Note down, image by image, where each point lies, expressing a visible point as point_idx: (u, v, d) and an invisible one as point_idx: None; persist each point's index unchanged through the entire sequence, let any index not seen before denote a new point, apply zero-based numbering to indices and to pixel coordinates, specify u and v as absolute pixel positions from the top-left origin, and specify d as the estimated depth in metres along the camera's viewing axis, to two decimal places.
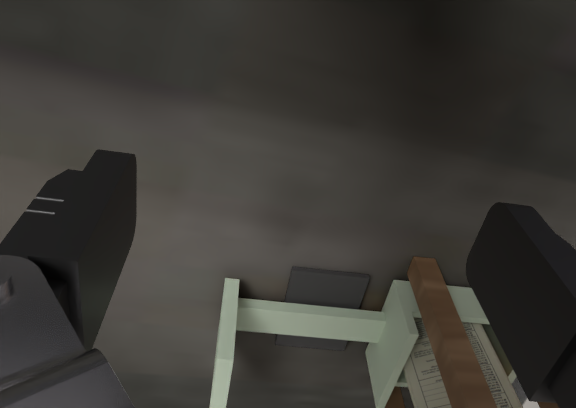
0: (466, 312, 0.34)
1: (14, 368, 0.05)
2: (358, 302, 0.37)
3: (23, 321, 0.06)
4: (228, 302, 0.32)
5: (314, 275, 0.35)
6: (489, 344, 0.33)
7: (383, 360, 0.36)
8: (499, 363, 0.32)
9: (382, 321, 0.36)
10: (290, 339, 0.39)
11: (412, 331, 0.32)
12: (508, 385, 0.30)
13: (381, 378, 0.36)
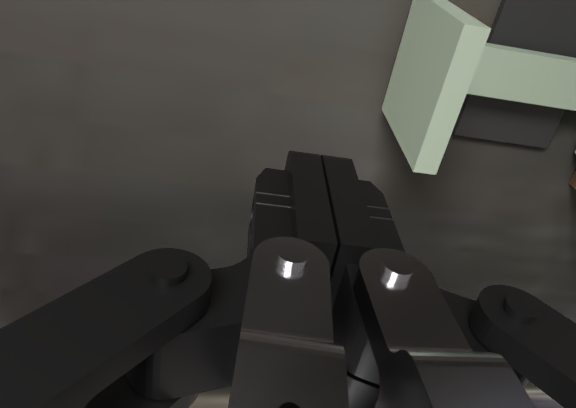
0: None
1: (280, 327, 0.06)
2: None
3: (301, 297, 0.07)
4: (437, 0, 0.21)
5: None
6: None
7: None
8: None
9: None
10: (478, 124, 0.27)
11: None
12: None
13: None
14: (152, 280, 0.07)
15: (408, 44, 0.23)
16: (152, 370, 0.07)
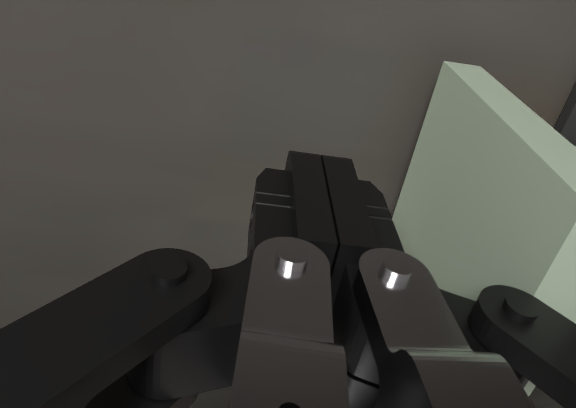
0: None
1: (280, 327, 0.06)
2: None
3: (301, 297, 0.07)
4: (489, 93, 0.11)
5: None
6: None
7: None
8: None
9: None
10: None
11: None
12: None
13: None
14: (152, 280, 0.07)
15: (430, 160, 0.13)
16: (152, 370, 0.07)
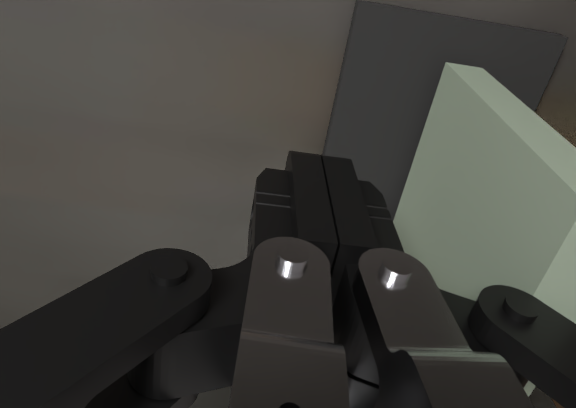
0: None
1: (281, 327, 0.06)
2: None
3: (301, 297, 0.07)
4: (491, 94, 0.11)
5: (417, 24, 0.13)
6: None
7: None
8: None
9: None
10: None
11: None
12: None
13: None
14: (152, 280, 0.07)
15: (432, 161, 0.13)
16: (152, 370, 0.07)
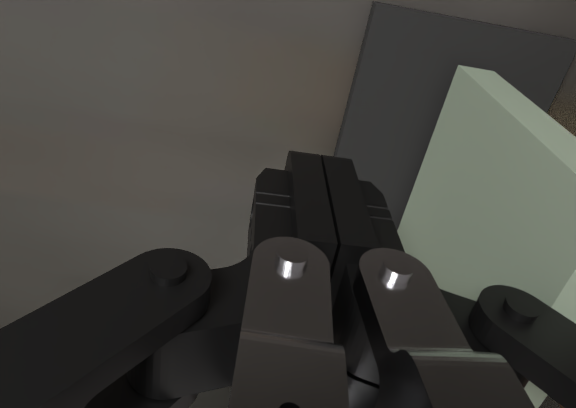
0: None
1: (280, 327, 0.06)
2: None
3: (301, 297, 0.07)
4: (506, 98, 0.11)
5: (434, 27, 0.13)
6: None
7: None
8: None
9: None
10: None
11: None
12: None
13: None
14: (152, 280, 0.07)
15: (443, 163, 0.13)
16: (152, 370, 0.07)
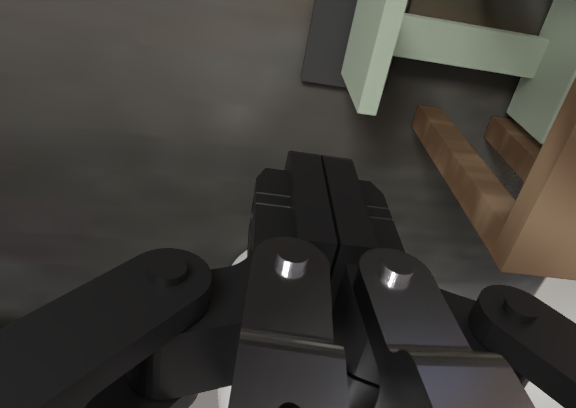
0: None
1: (280, 327, 0.06)
2: None
3: (301, 297, 0.07)
4: None
5: None
6: None
7: (549, 82, 0.30)
8: None
9: (544, 40, 0.30)
10: (319, 71, 0.32)
11: None
12: None
13: (547, 104, 0.29)
14: (152, 280, 0.07)
15: (358, 16, 0.28)
16: (152, 370, 0.07)
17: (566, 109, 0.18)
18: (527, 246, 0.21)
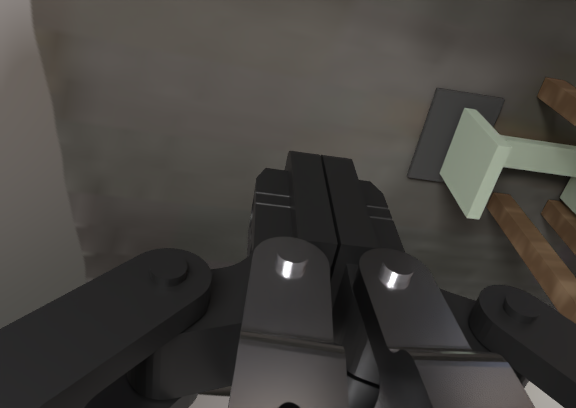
0: None
1: (280, 327, 0.06)
2: None
3: (301, 297, 0.07)
4: (478, 119, 0.37)
5: (456, 95, 0.39)
6: None
7: None
8: None
9: None
10: (422, 171, 0.42)
11: None
12: None
13: None
14: (152, 280, 0.07)
15: (459, 139, 0.39)
16: (152, 370, 0.07)
17: None
18: None
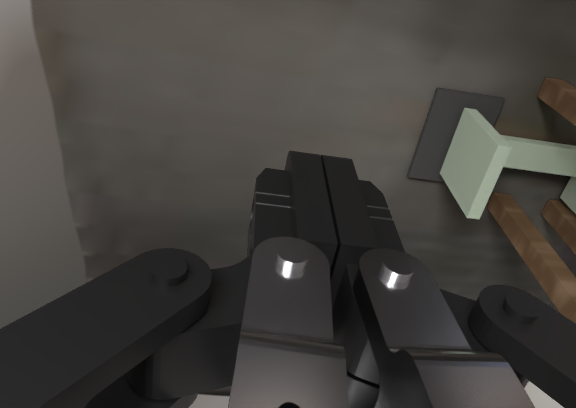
0: None
1: (280, 327, 0.06)
2: None
3: (301, 297, 0.07)
4: (479, 119, 0.37)
5: (456, 95, 0.39)
6: None
7: None
8: None
9: None
10: (423, 170, 0.43)
11: None
12: None
13: None
14: (152, 280, 0.07)
15: (460, 139, 0.39)
16: (152, 370, 0.07)
17: None
18: None
